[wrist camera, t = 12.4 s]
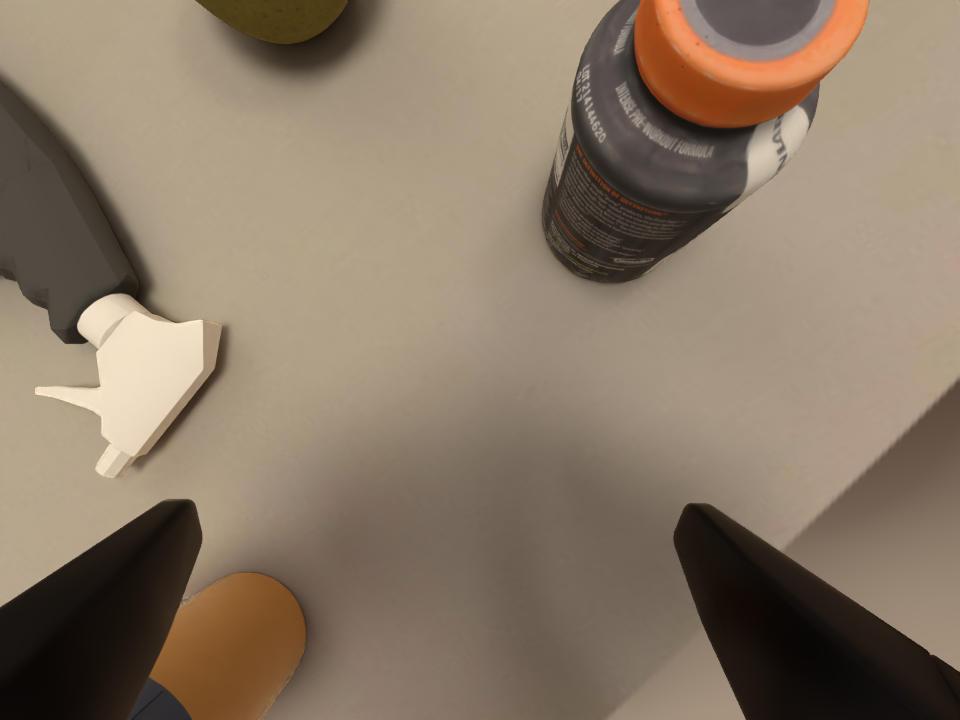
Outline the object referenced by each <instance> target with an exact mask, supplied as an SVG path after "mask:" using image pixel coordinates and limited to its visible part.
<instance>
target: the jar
mask: <svg viewBox="0 0 960 720" xmlns="http://www.w3.org/2000/svg"><path fill="white" fill-rule="evenodd" d="M305 643H306V626H305V620H304V616H303V613H302V610H301V608H300V606H299V604H298V602H297V600H296V599H295V597H294V596H293V594H292V593H291V592H290V591H289V590H288V589H287V588H286V587H285V586H284V585H282V584H281V583H280V582H278V581H276V580H275V579H273V578H271V577H269V576H266V575H263V574H259V573H252V572H242V573H235V574H231V575H228V576H225V577H223V578H221V579H219V580H217V581H215V582H214V583H212V584H211V585H209V586H208V587H207V588H205V589H204V590H202V591H201V592H200V593H198V594H197V595H195V596H194V597H192V598H191V599H190V600H188V601H187V602H185V603H184V604H182V605H181V606H180V607H179V608H178V610H177V613H176V616H175V619H174V621H173V624H172V627H171V629H170V632H169V634H168V637H167V639H166V642H165V644H164V646H163V648H162V650H161V653H160V655H159V657H158V659H157V661H156V663H155V665H154V667H153V669H152V671H151V673H150V675H149V677H150V678H152V679H153V680H155V681H156V682H158V683H159V684H161V685H162V686H164V687H165V688H166V689H167V690H168V691H169V692H171V693H172V694H173V695H174V696H175V697H176V698H177V699H178V701H179V702H180V703H181V704H182V705H183V706H184V707H185V709H186V710H187V712H188V713H189V715H190V716H191V718H192V719H193V720H262V718H263V717H264V716H265V714H266V713H267V711H268V710H269V708H270V707H271V705H272V704H273V703H274V701H275V700H276V698H277V697H278V695H279V694H280V693H281V691H282V690H283V688H284V687H285V685H286V684H287V683H288V681H289V680H290V678H291V677H292V675H293V674H294V672H295V671H296V669H297V667H298V666H299V664H300V661H301V659H302V657H303V653H304V649H305Z"/></svg>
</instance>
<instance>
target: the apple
mask: <svg viewBox="0 0 960 720" xmlns="http://www.w3.org/2000/svg"><path fill="white" fill-rule="evenodd" d="M196 1H197V2H198V3H199V4H201V5H202V6H203V7H204V8H206V9H207V10H208V11H209V12H211V13H212V14H213V15H215V16H216V17H218V18H219V19H221V20H222V21H224V22H225V23H227V24H228V25H230V26H232V27H233V28H235V29H237V30H239V31H241V32H243V33H245V34H247V35H249V36H252V37H254V38H256V39H259V40H263V41H266V42H271V43H278V44H294V43H299V42H303V41H306V40H308V39H311V38H313V37H314V36H316V35H318V34H320V33H321V32H323V31H324V30H325V29H326V28H328V27H329V26H330V25H331V24H332V23H333V22H334V21H335V20H336V19H337V18H338V16H339V15H340V14H341V13H342V11H343V10H344V8H345V6H346V5H347V3H348V1H349V0H196Z"/></svg>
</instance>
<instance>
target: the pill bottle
mask: <svg viewBox="0 0 960 720" xmlns="http://www.w3.org/2000/svg"><path fill="white" fill-rule="evenodd" d="M868 7H869V0H620V1H619V2H618V3H616V4H615V5H614V6H613V8H612V9H611V10H610V11H609V12H608V13H607V14H606V15H605V16H604V17H603V19H602V20H601V21H600V23H599V24H598V26H597V27H596V29H595V30H594V32H593V33H592V35H591V37H590V39H589V41H588V43H587V45H586V46H585V49H584V51H583V54H582V56H581V59H580V63H579V66H578V69H577V73H576V77H575V81H574V84H573V89H572V92H571V96H570V100H569V104H568V108H567V111H566V115H565V119H564V122H563V126H562V129H561V133H560V137H559V141H558V146H557V150H556V154H555V158H554V161H553V166H552V169H551V174H550V177H549V181H548V185H547V188H546V192H545V195H544V200H543V207H542V222H543V228H544V232H545V236H546V239H547V241H548V243H549V245H550V247H551V249H552V250H553V252H554V254H555V255H556V257H557V258H558V259H559V260H560V261H561V262H562V263H563V264H564V265H565V266H567V267H568V268H569V269H570V270H572V271H573V272H575V273H577V274H578V275H580V276H582V277H584V278H587V279H592V280H595V281H599V282H625V281H629V280H633V279H636V278H639V277H641V276H643V275H645V274H646V273H648V272H650V271H651V270H653V269H654V268H656V267H657V266H658V265H660V264H661V263H662V262H664V261H665V260H666V259H668V258H669V257H670V256H671V255H673V254H674V253H675V252H677V251H678V250H679V249H681V248H682V247H683V246H685V245H686V244H688V243H689V242H690V241H691V240H693V239H694V238H696V237H697V236H698V235H699V234H701V233H702V232H704V231H705V230H706V229H708V228H709V227H710V226H711V225H712V224H714V223H715V222H717V221H718V220H719V219H721V218H722V217H723V216H725V215H726V214H727V213H728V212H730V211H731V210H732V209H733V208H735V207H736V206H737V205H739V204H740V203H741V202H743V201H744V200H745V199H746V198H748V197H749V196H750V195H751V194H753V193H754V192H755V191H757V190H758V189H759V188H760V187H762V186H763V185H764V184H766V183H767V182H768V181H769V180H771V179H772V178H773V177H774V176H775V175H777V174H778V172H779V171H780V170H781V169H782V168H783V167H784V166H785V165H786V164H787V163H788V162H789V161H790V159H791V158H792V157H793V156H794V155H795V153H796V152H797V150H798V149H799V147H800V145H801V144H802V142H803V140H804V138H805V136H806V134H807V132H808V130H809V128H810V126H811V123H812V121H813V118H814V115H815V112H816V107H817V102H818V97H819V87H820V81H821V80H822V79H823V78H824V77H825V76H826V75H827V74H828V73H829V72H830V71H831V70H832V69H833V68H834V67H835V66H836V65H837V64H838V63H839V62H840V61H841V60H842V59H843V58H844V56H845V55H846V54H847V53H848V51H849V50H850V49H851V47H852V45H853V44H854V42H855V41H856V39H857V37H858V36H859V34H860V32H861V30H862V29H863V26H864V23H865V20H866V17H867V12H868Z"/></svg>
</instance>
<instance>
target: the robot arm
mask: <svg viewBox="0 0 960 720" xmlns="http://www.w3.org/2000/svg"><path fill="white" fill-rule="evenodd" d="M673 541H674V546H675V549H676V552H677V554H678V557H679V560H680V563H681V566H682V569H683V571H684V574H685V577H686V580H687V583H688V586H689V588H690V591H691V594H692V597H693V600H694V603H695V605H696V608H697V611H698V614H699V616H700V619H701V621H702V624H703V626H704V629H705V631H706V633H707V635H708V638H709V640H710V642H711V644H712V647H713V649H714V651H715V653H716V655H717V657H718V660H719V662H720V664H721V666H722V668H723V671H724V673H725V675H726V677H727V679H728V681H729V684H730V686H731V688H732V690H733V692H734V694H735V697H736V699H737V701H738V703H739V705H740V708H741V710H742V712H743V714H744V716H745V719H746V720H960V672H959V671H957V670H955V669H954V668H953V667H951V666H950V665H948V664H947V663H945V662H944V661H942V660H941V659H939V658H938V657H936V656H935V655H930V653H929V652H928V651H927V650H926V649H924V648H923V647H921V646H920V645H918V644H917V643H915V642H914V641H912V640H911V639H909V638H908V637H907V636H905V635H904V634H902V633H901V632H899V631H897V630H896V629H895V628H893V627H892V626H890V625H889V624H887V623H885V622H884V621H883V620H881V619H879V618H878V617H877V616H875V615H874V614H872V613H871V612H869V611H868V610H866V609H865V608H863V607H862V606H860V605H859V604H857V603H856V602H854V601H853V600H852V599H850V598H849V597H847V596H846V595H844V594H843V593H841V592H840V591H838V590H837V589H835V588H834V587H832V586H831V585H829V584H827V583H826V582H825V581H823V580H822V579H820V578H819V577H817V576H816V575H814V574H813V573H811V572H810V571H808V570H807V569H805V568H804V567H802V566H801V565H799V564H798V563H796V562H795V561H793V560H792V559H790V558H789V557H788V556H786V555H785V554H783V553H782V552H780V551H779V550H777V549H776V548H774V547H773V546H771V545H770V544H768V543H767V542H765V541H764V540H762V539H761V538H759V537H758V536H756V535H755V534H753V533H752V532H750V531H749V530H747V529H746V528H744V527H743V526H741V525H740V524H739V523H737V522H736V521H734V520H733V519H731V518H730V517H728V516H727V515H725V514H724V513H722V512H721V511H719V510H718V509H716V508H715V507H713V506H712V505H710V504H706V503H689V504H687V505H686V506H685V507H684V509H683V511H682V514H681V516H680V519H679V521H678V523H677V526H676V528H675V531H674V535H673ZM201 544H202V530H201V526H200V522H199V517H198V513H197V509H196V505H195V503H194V502H193V501H192V500H189V499H167V500H164V501H162V502H160V503H158V504H157V505H155V506H154V507H152V508H151V509H149V510H148V511H146V512H145V513H143V514H142V515H140V516H139V517H137V518H136V519H134V520H132V521H131V522H129V523H128V524H126V525H125V526H123V527H122V528H120V529H119V530H117V531H116V532H114V533H113V534H111V535H110V536H108V537H107V538H105V539H104V540H102V541H101V542H99V543H97V544H96V545H94V546H93V547H91V548H90V549H88V550H87V551H85V552H84V553H82V554H81V555H79V556H78V557H76V558H75V559H73V560H72V561H70V562H69V563H67V564H65V565H64V566H62V567H61V568H59V569H58V570H56V571H55V572H53V573H52V574H50V575H49V576H47V577H46V578H44V579H43V580H41V581H40V582H38V583H37V584H35V585H34V586H32V587H30V588H29V589H27V590H26V591H24V592H23V593H21V594H20V595H18V596H17V597H15V598H14V599H12V600H11V601H9V602H8V603H6V604H5V605H3V606H2V607H0V720H128V718H129V716H130V714H131V712H132V710H133V708H134V706H135V704H136V702H137V700H138V698H139V696H140V694H141V692H142V690H143V688H144V686H145V684H146V682H147V679H148V677H149V675H150V673H151V671H152V669H153V667H154V665H155V663H156V661H157V659H158V657H159V655H160V653H161V650H162V648H163V646H164V644H165V642H166V639H167V637H168V634H169V632H170V629H171V627H172V624H173V621H174V619H175V616H176V613H177V610H178V608H179V605H180V602H181V600H182V597H183V594H184V592H185V589H186V586H187V583H188V581H189V578H190V575H191V573H192V570H193V567H194V564H195V562H196V559H197V556H198V554H199V551H200V548H201Z"/></svg>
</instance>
